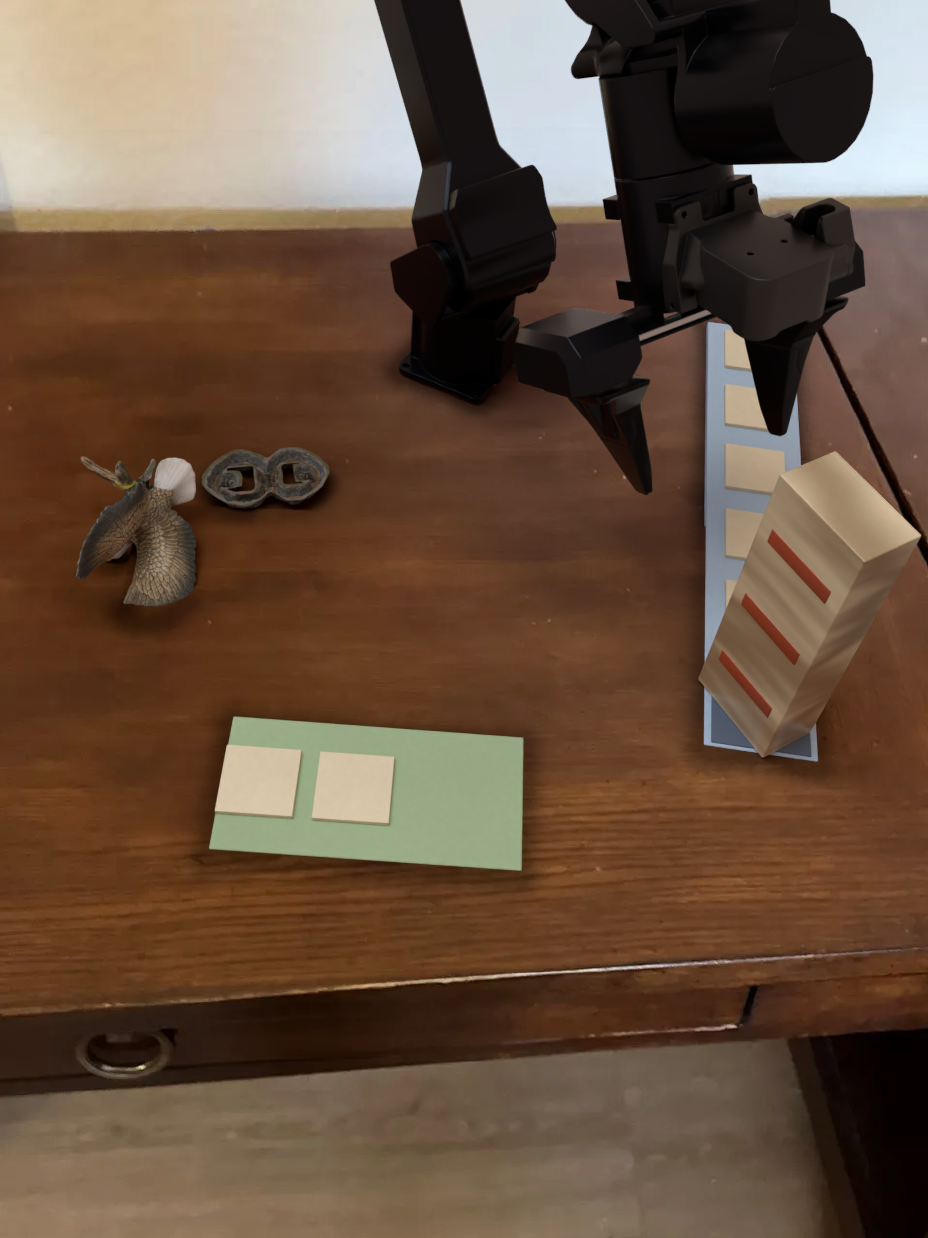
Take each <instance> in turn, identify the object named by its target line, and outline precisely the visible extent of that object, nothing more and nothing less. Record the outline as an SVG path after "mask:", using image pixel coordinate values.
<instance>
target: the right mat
mask: <svg viewBox="0 0 928 1238" xmlns="http://www.w3.org/2000/svg"><path fill="white" fill-rule="evenodd" d="M798 405H799V403H798V394H797V395H796V399H795V403H794V407H793V410H792V414H791V418H790V422H789V426H788V430H787V433H786V434H785V435H783V436H776V435H772V434H770V433H769V432H768V429H767V426H766V423H765V420H764V418H763V415H762V412H761V409H760V405H759V401H758V397H757V393H756V388H755V384H754V380H753V376H752V371H751V367H750V363H749V358H748V354H747V350H746V346H745V340H744V338H742V337H740V336H738V335H737V334H735V333H734V332H733V330H732V328H731V326H729V325H728V324H726V323H719V322H712V321H707V324H706V327H705V405H704V406H705V408H704V409H705V412H704V416H705V417H704V499H703V501H704V502H703V503H704V504H703V505H704V506H703V507H704V508H703V509H704V510H703V511H704V513H703V527H705V571H704V573H705V577H704V578H705V582H704V583H705V585H704V587H705V589H704V605H705V606H704V661H705V660H706V658H707V655H708V653H709V650H710V648H711V645H712V643H713V640H714V638H715V635H716V633H717V630H718V628H719V625H720V623H721V620H722V618H723V615H724V613H725V610H726V608H727V605H728V603H729V600H730V598H731V595H732V593H733V590H734V588H735V585H736V583H737V580H738V578H739V575H740V573H741V570H742V568H743V565H744V563H745V560H746V558H747V555H748V553H749V550H750V548H751V545H752V543H753V540H754V538H755V535H756V533H757V530H758V528H759V525H760V523H761V520H762V518H763V515H764V513H765V510H766V508H767V505H768V503H769V500H770V498H771V495H772V493H773V490H774V488H775V485H776V483H777V480H778V478H779V475H780V474H782V473H784V472H787V471H789V470H791V469H794V468H796V467H798V466H801V465H802V458H801V457H802V456H801V441H800V438H801V437H800V425H799V420H800V419H799V406H798ZM703 687H704V686H703ZM703 689H704V690H703V692H704V693H703V698H704V699H703V745H704V746H708V747H715V748H722V749H730V750H736V751H743V752H748V753H756V754H759V753H758V752H757V751H756V750H755V748H754V747H753V746H752V745H751V743H750V742H749V741H748V740H747V738H746V737H745V736H744V735H743V734H742V732H741V731H740V730H739V729H738V727H737V726H736V725H735V724H734V722H733V721H732V720H731V719H730V718H729V716H728V715H727V714H726V713H725V711H724V710H723V709H722V708H721V706H720V705H719V704H718V703H717V702H716V700H715V699H714V698H713V697H712V695H711V694H710V693H709V692H708V690H707V689H706V688H705V687H704V688H703ZM768 756H775V757H777V756H778V757H783V758H788V759H789V758H790V759H795V760H803V761H811V762H816V763H817V762H819V754H818V737H817V722H816V723H815V725H814V727H813V728H812V730H811V732H810V733H809V734H807V735H806V736H804V737H802V738H800V739H798V740H796V741H794V742H792V743H790V744H788V745H786V746H784V747H783V748H781V749H779V750H777V751H775V752H773V753H771V754H769V755H768Z"/></svg>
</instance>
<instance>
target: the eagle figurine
mask: <svg viewBox="0 0 928 1238" xmlns="http://www.w3.org/2000/svg"><path fill="white" fill-rule="evenodd" d="M79 460H80V461H81V463H82V464H83V465H84V466H85V467H86V469H87V470H88V471H90V472H92V473H94V475H96V476H98V477H100V478H101V479H103V480H104V481H108V482H110V483H111V484H112V485H113V486H114V488H117V489H118V490H119V491H120V492H122V493H123V492H124V494H125V495H124V496H123V498H122V499H120V500H119V501H115V502H114V504H112V505H111V504H110V505H107V506H105V507H104V509H103V510H101V511H100V513H99V516H98V517H97V518H96V521H95V523H93V524H92V527H91V528H90V530H89V532H88V533H87V535H86V537H85V538H84V539H83V541H82V546H81V549H80V551H79V558H78V560H77V563H76V565H77V568H76V571H75V578H77V579H78V580H81V579H82V580H83V581H84V580H85V579H86V578H87V577H88V576H89V575H90V574H91V573H92V572H93V571H94V570H95V569H97V568H98V567H99V566H100V565H101V564H103V563H106V562H110V561H112V560H113V559H114V560H117V559H120V558H121V557H122V556H123V555H124V554H125V552H126V551H127V550H128V549H129V547H130V546H132V545H133V544H134V545H135V548H136V560H135V566H134V572H133V577H132V580H131V583H130V585H129V587H128V589H127V592H126V595H125V597H124V599H123V604H124V605H130V604H131V605H135V606H144V607H160V606H166V605H168V604H174V603H176V602H178V601H179V600H180V601H181V600H183V599H184V598H187V597H189V595H190V594H191V593H192V592H194V591H195V584H196V582H197V577H196V575H195V574H196V569H197V565H196V562H195V561H196V554H197V552H196V549H195V548H197V539H196V535H195V533H194V532H193V527H192V526H190V524H189V522H188V521H186V520H184V518H183V517H182V516H181V515H178V511H177V510H175V509H174V508H173V507H177V506H179V505H183V504H185V503H188V502H191V501H193V500H194V499H195V496H196V492H197V483H196V472H195V471H194V470H193V466H192V464H191V463H190V462H188V461H186V459H183V458H179V457H167V458H165V459H161V460H160V461H159V462H158V464H157V460H156V459H154V458H151V459H150V462H149V464H148V465H147V467H146V469H145V470H144V472H143V473H142V475H140V476H139V477H138V480H135V479H132V477H131V474H130V472H129V471H128V468H127V467H126V465H125V463H124V461H122V460H118V461H116V464H115V466H114V467H115V468H114V471H112V470H110V469H107V468H105V467H102V466H101V465H98V464H97V463H96V462H95V461H94V460H92V459H91V458H89V457H87V456H84V455H82V456H80V459H79ZM156 464H157V465H156ZM155 468H156V470H155ZM154 470H155V473H154ZM153 474H154V479H153V482H151V484H150V481H151V479H152V478H153Z"/></svg>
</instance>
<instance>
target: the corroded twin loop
mask: <svg viewBox="0 0 928 1238" xmlns="http://www.w3.org/2000/svg"><path fill="white" fill-rule="evenodd" d="M282 468H283V469H291V468H292V470H293V476H294V481H295V482H296V483H284V480H283V479H284V474H283V469H282ZM250 470H253V480H254V488H253V489H251V490H241V491H236V489H237V488H239V487H243V475H242V473H241V472H247V471H250ZM330 472H331V471H330V466H329V465H328V463H327V462H326V461H324V459H323V458H322V457H320V455H318V454H317V453H314V452H313V451H310V450H309V449H306V448H302V447H300V446H289V447H280V448H278V449H277V450H276V451H275V452H273V453H271V455H270V456H265V455H263V454H260V453H257V452H254V451H251V450H248V449H244V448H239V449H232V450H230V451H228V452H226V453H225V454H222V455H220V456H219V457H217V458H216V459H215V460H214V461H212V462H211V463H210V464H209V465H208V466H207V467H206V469H205V471H204V472H203V473H202V475H201V485H202V486H203V487H204V489H205V490H206V491H207V492H208V493H209V494H210V495H211V496H213V497H215V499H217V500H219V501H221V502H223V503H225V504H226V505H227V506H228V507H229V508H231V509H232V508H234V509H256V508H258V507H259V506H260V505H262V504H263V503H264V501H265V500H266V499H267V498H269V497H273V498H275V499H277V500H279V501H280V502H285V503H288V505H299V504H301V503H302V502H304V501H305V500H308V499H310V498H311V497H313V496H315V494H316V493H318V491H319V490H320V489H322V487H323V486H324V484H325V482H326V481H327V479H328V476H329V475H330Z"/></svg>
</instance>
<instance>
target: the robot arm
mask: <svg viewBox="0 0 928 1238" xmlns="http://www.w3.org/2000/svg"><path fill="white" fill-rule="evenodd" d="M373 1H374V6H375V8H376V13H377V16H378V20H379V22H380V26H381V30H382V33H383V36H384V39H385V43H386V47H387V49H388V50H387V51H388V53H389V57H390V61H391V64H392V67H393V71H394V74H395V78H396V81H397V84H398V88H399V91H400V95H401V99H402V102H403V105H404V108H405V109H404V110H405V112H406V116H407V120H408V123H409V126H410V130H411V133H412V137H413V140H414V143H415V147H416V151H417V154H418V157H419V161H420V166H421V175H420V179H419V183H418V187H417V190H416V191H417V192H416V196H415V201H414V205H413V210H412V214H411V220H410V221H411V226H412V231H413V235H414V240H415V244H416V248H415V249H412V250H410V251H409V252H406V253H405V254H403V255H400V256H399V257H396V258H395V259H393V260H390V263H389V264H390V265H389V266H390V273H391V278H392V285H393V290H394V293H395V294H396V295H397V297H399V298H400V299H401V301H402V302H403V303H404V304H405V305H406V306H407V307H408V308H409V309H410V310H411V311H412V312H411V331H410V333H411V334H410V335H411V336H410V351H409V352H408V353H407V354H406V355H405V357H403V358H402V360H401V361H400V362H399V364H398V372H399V373H400V374H402V375H404V376H406V377H409V378H411V379H414V380H416V381H419V382H420V383H423V384H426V385H428V386H431V387H433V388H436V389H438V390H440V391H443V392H445V393H447V394H450V395H452V396H455V397H458V398H460V399H462V400H465V401H467V402H470V403H472V404H480V403H482V402H483V401H484V400H485V399H486V397H487V395H488V394H489V393H490V392H491V391H492V389H493V388H494V387H495V386H497V385H499V384H500V383H502V381H503V380H504V378H505V377H506V376H507V374H508V373H509V372H510V371H511V369H512V368H513V367H514V369H515V374H516V380H517V383H519V384H523V385H526V386H530V387H533V388H537V389H539V390H542V391H544V392H547V393H550V394H554V395H556V396H561V397H564V398H567V399H568V401H569V402H570V403H571V404H572V405H573V406H574V407H575V409H576V410H577V411H578V412H579V413H580V415H581V416H582V417H583V418H584V419H585V420H586V422H588V424H589V426H591V428H592V430H593V431H594V433H596V435H597V437H599V439H600V441H601V442H602V444H603V445H604V446H605V448H606V449H607V451H608V453H609V454H610V455H611V457H612V458H613V460H614V461H615V463H616V464H617V465H618V467H619V468H620V470H621V471H622V473H623V475H624V476H625V477H626V479H627V480H628V482H629V484H630V485H631V487H632V488H633V489H634V491H635V492H637V493H638V494H641V495H644V496H649V495H650V494H652V493H653V491H654V489H653V469H652V463H651V457H650V456H651V455H650V450H649V446H648V441H647V440H648V439H647V435H646V429H645V422H644V416H643V411H642V402H643V399H644V397H645V396H646V394H647V393H646V392H647V391H648V388H649V386H650V383H651V379H650V378H646V377H643V376H639V375H635V373H636V372H637V370H638V367H639V365H640V363H641V362H642V360H643V353H642V352H643V351H642V347H643V346H645V345H648V344H650V343H653V342H655V341H656V342H657V341H658V340H661V339H663V338H666V337H668V336H671V335H674V334H676V333H679V332H680V331H681V332H682V331H684V330H687V329H690V328H692V327H694V326H697V325H700V324H702V323H705V322H708V321H710V320H712V319H715V318H717V319H719V320H721V321H722V322H724V324H727V325H729V326H731V328H732V330H733V332H734V333H735V334H737V335H738V336H740V337H742V338H744V340H745V346H746V350H747V354H748V358H749V363H750V367H751V371H752V376H753V380H754V384H755V388H756V393H757V397H758V401H759V405H760V409H761V412H762V415H763V418H764V420H765V423H766V426H767V429H768V432H769V433H770V434H772V435H776V436H783V435H785V434H786V433H787V430H788V426H789V422H790V418H791V414H792V410H793V407H794V403H795V399H796V395H797V396H798V390H799V387H800V382H801V379H802V374H803V372H804V368H805V364H806V361H807V358H808V354H809V351H810V348H811V346H812V343H813V340H814V337H815V336H816V334H817V333H818V331H819V330H820V329H821V328H822V327H823V326H824V325H825V324H826V323H827V322H828V321H829V320H830V319H831V318H832V317H833V316H834V315H835V314H836V313H838V312H840V311H842V310H844V309H845V308H846V306H847V305H848V303H849V299H850V298H849V297H847V296H844V295H847V294H849V293H851V292H854V291H857V290H859V289H861V288H864V287H866V270H865V269H866V268H865V256H864V255H865V254H864V250H863V249H862V248H861V246H860V245H859V244H858V242H857V241H856V238H855V233H854V226H853V221H852V220H853V219H852V212H851V208H850V206H848V205H846V204H845V203H842V202H840V201H839V200H837V199H835V198H833V197H826V198H824V199H821V200H818V201H815V202H813V203H810V204H807V205H805V206H802V207H801V208H800V209H798V212H797V213H796V215H795V216H794V215H793V214H792V213H790V212H788V213H784V214H782V215H780V216H777V217H771V216H768V215H767V214H764V213H763V210H762V207H761V205H760V204H761V203H760V201H759V192H758V191H759V190H758V186H757V185H756V184H755V183H754V181H753V174H750V173H749V174H741V173H740V174H735V170H734V166H746V165H747V166H748V165H750V166H752V165H790V164H793V165H795V164H823V163H824V164H826V163H829V162H833V161H835V160H836V159H837V158H839V157H840V156H842V155H843V154H845V153H846V152H847V151H848V150H849V149H850V147H851V146H852V145H853V144H854V143H855V142H856V141H857V139H858V137H859V136H860V133H861V131H862V130H863V129H864V126H865V124H866V121H867V118H868V115H869V112H870V111H871V110H870V109H871V104H872V98H873V93H874V67H873V59H872V57H870V56H868V55H867V52H866V49H865V46H864V42H863V41H862V39H861V36H860V35H859V33H858V31H857V29H856V28H855V27H854V26H853V25H852V24H851V23H850V22H849V21H848V20H847V19H846V18H845V17H843V16H840V15H839V14H837V13H836V12H832V5H831V0H564V1H565V3H566V4H567V6H568V8H569V9H570V10H571V11H572V12H573V14H574V15H575V16H576V17H577V18H578V19H579V20H580V21H582V22H583V23H585V24H586V25H588V26H591V29H590V32H589V36H588V38H587V39H586V42H585V44H584V45H583V47H581V49H580V50H579V51H578V52H577V54H576V56H575V58H574V60H573V62H572V64H571V66H570V73H571V76H572V78H574V79H576V80H582V79H583V80H584V79H590V78H598V86H599V92H600V100H601V103H602V105H601V106H602V110H603V118H604V125H605V130H606V136H607V143H608V149H609V155H610V162H611V168H612V173H613V174H612V175H613V181H614V182H613V183H614V187H615V194H614V195H611V196H608V197H605V198H602V199H601V200H602V205H603V212H604V218H605V220H607V221H609V220H610V221H620V225H621V232H622V238H623V244H624V250H625V259H626V264H627V270H628V275H626V276H623V277H620V278H618V279H615V285H616V291H617V297H618V298H617V299H618V300H620V301H627V302H632V303H633V306H634V307H632V308H630V309H627V310H624V311H621V312H618V313H610V312H605V311H600V310H595V309H588V308H583V307H578V306H577V307H576V306H575V307H572V308H569V309H566V310H564V311H561V312H559V313H555V314H553V315H549V316H548V317H545V318H541V319H539V320H537V321H533V322H530V323H528V324H526V325H522V326H520V325H521V321H520V318H519V317H518V316H515V310H516V301H517V298H518V297H519V296H522V295H525V294H532V293H535V292H536V291H537V288H538V287H539V285H540V284H541V283H543V282H545V280H546V278H547V277H548V276H549V275H550V271H551V267H552V263H553V262H555V261H556V258H557V236H556V232H555V231H557V230H558V226H557V224H556V222H555V220H554V219H553V216H552V213H551V211H550V208H549V205H548V201H547V196H546V190H545V185H544V184H545V183H544V178H543V176H542V174H541V173H540V171H539V170H538V168H537V167H536V166H535V165H534V164H529V165H526V166H521V165H520V164H519V163H518V162H517V161H516V160H515V159H514V158H513V157H512V156H511V155H510V154H509V153H508V152H507V151H506V150H505V149H504V148H503V147H502V146H501V144H500V141H499V139H498V135H497V132H496V128H495V124H494V121H493V117H492V113H491V110H490V106H489V101H488V97H487V94H486V90H485V87H484V83H483V80H482V79H483V78H482V76H481V72H480V69H479V64H478V60H477V56H476V54H475V50H474V45H473V41H472V39H471V35H470V31H469V27H468V23H467V19H466V16H465V11H464V8H463V4H462V0H373ZM666 314H671V315H668V316H666V317H665V315H666Z"/></svg>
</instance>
